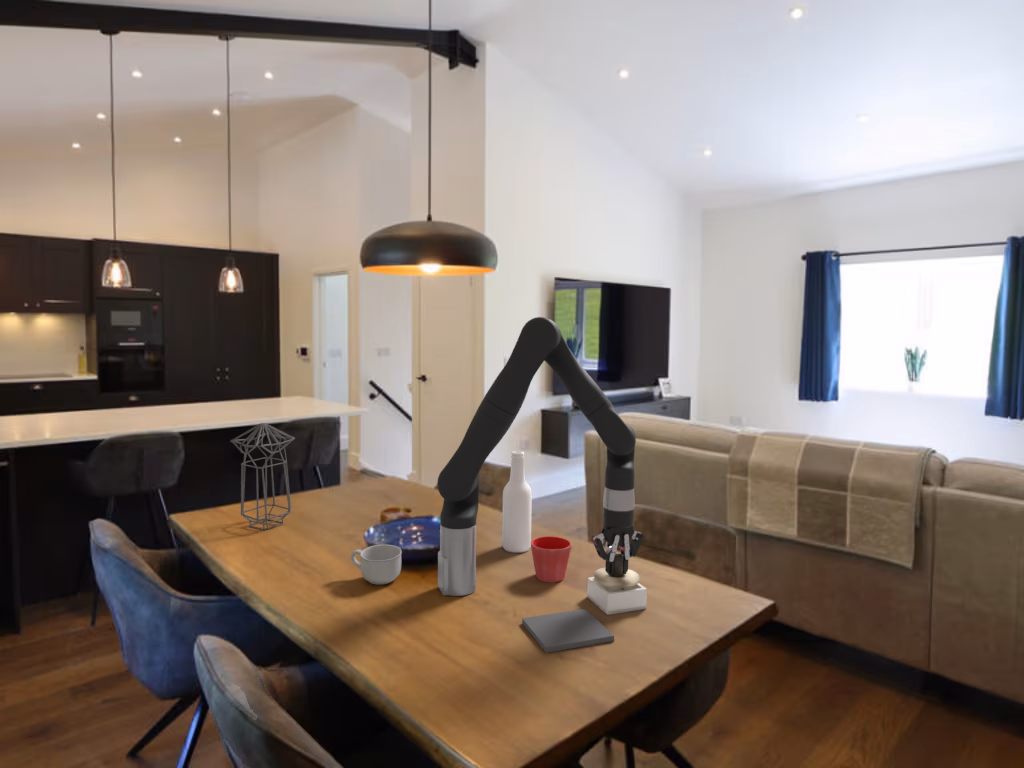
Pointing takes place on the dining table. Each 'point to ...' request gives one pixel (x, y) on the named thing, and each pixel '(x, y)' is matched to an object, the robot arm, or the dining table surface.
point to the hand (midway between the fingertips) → (616, 573)
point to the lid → (617, 575)
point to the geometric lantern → (234, 441)
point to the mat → (567, 630)
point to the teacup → (379, 563)
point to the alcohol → (517, 508)
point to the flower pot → (550, 557)
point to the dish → (616, 597)
